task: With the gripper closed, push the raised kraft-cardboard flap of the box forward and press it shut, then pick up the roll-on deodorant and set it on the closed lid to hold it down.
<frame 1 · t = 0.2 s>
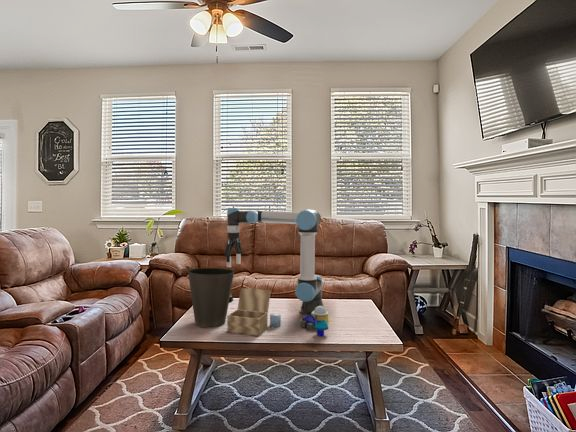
hand: (233, 265, 233), 29 cm above the table, fingers open, 13 cm apart
lid: (254, 300, 203), point 15 cm above the table, hinge at 112.0°
toy: (320, 334, 190), on the table
box: (247, 330, 195), on the table
toy 2: (314, 326, 204), on the table
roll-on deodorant: (275, 325, 204), on the table
waste basket: (211, 323, 208), on the table
decorative sign: (213, 300, 258), on the table
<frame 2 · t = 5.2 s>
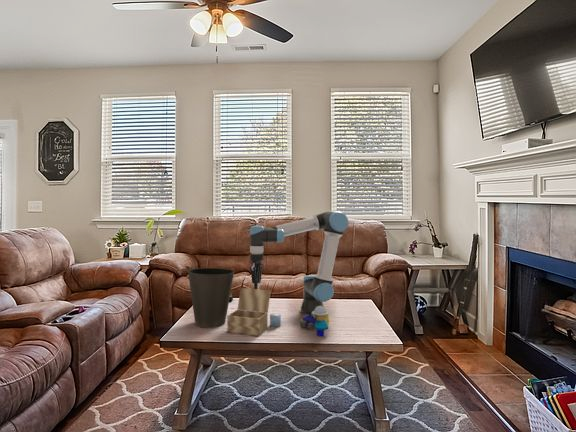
hand: (256, 294, 207), 17 cm above the table, fingers closed
lid: (254, 300, 203), point 15 cm above the table, hinge at 111.6°, touching gripper
everything else where it was.
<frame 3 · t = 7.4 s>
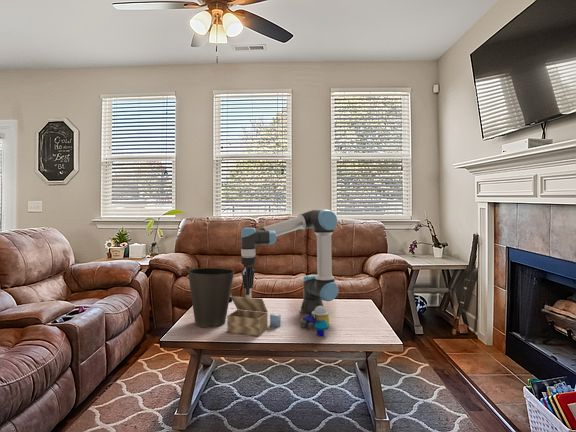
hand: (248, 300, 196), 16 cm above the table, fingers closed
lid: (249, 304, 197), point 14 cm above the table, hinge at 48.3°, touching gripper
everything else where it was.
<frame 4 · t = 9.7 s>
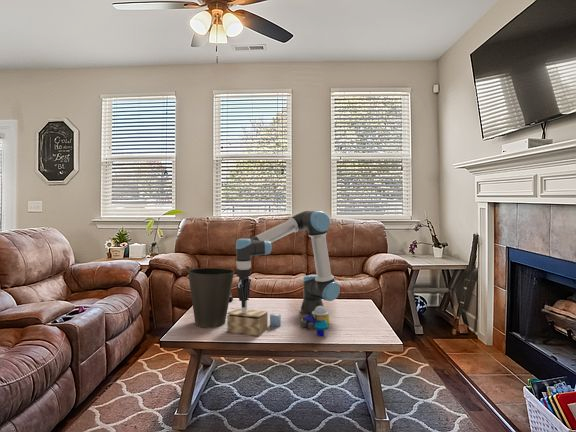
hand: (244, 312, 192), 11 cm above the table, fingers closed
lid: (247, 312, 195), point 10 cm above the table, hinge at 3.9°, touching gripper
everything else where it was.
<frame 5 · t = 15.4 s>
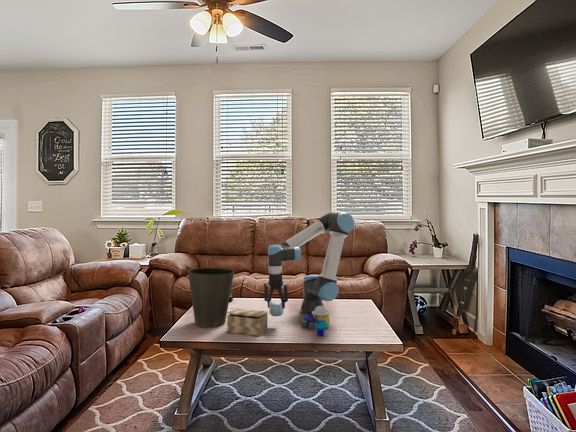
hand: (276, 313, 204), 7 cm above the table, fingers closed on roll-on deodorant, 6 cm apart
lid: (247, 312, 195), point 10 cm above the table, hinge at 5.1°
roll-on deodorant: (276, 314, 204), point 6 cm above the table, touching gripper
everything else where it was.
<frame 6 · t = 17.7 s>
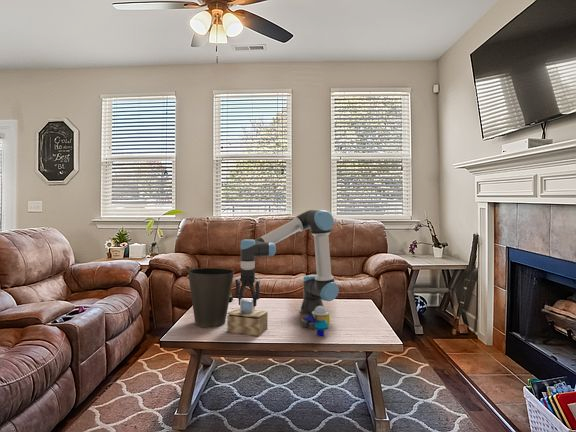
hand: (247, 311, 195), 10 cm above the table, fingers closed on lid, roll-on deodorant, 6 cm apart
lid: (247, 312, 195), point 10 cm above the table, hinge at 3.4°, touching gripper, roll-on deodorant
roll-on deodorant: (247, 312, 195), point 10 cm above the table, touching gripper, lid
when the fingers open (10 cm above the table, at t = 18.1 s): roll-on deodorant stays where it is, resting on lid.
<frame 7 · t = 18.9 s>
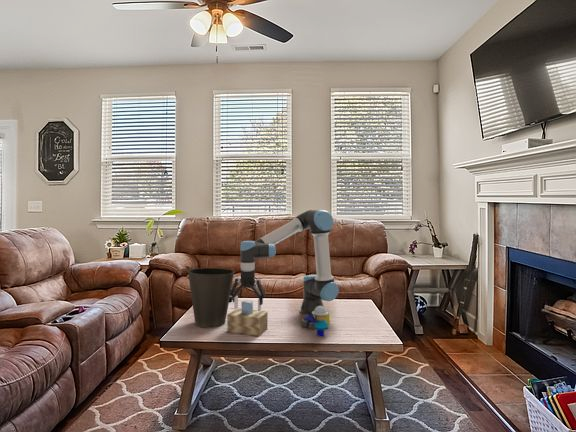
hand: (247, 309, 195), 12 cm above the table, fingers open, 13 cm apart
lid: (247, 313, 195), point 10 cm above the table, hinge at -0.2°, touching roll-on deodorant
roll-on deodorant: (247, 313, 195), point 10 cm above the table, touching lid
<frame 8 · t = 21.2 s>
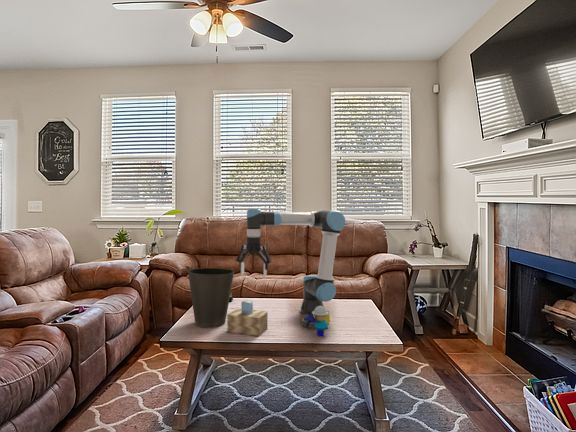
hand: (253, 274, 202), 29 cm above the table, fingers open, 13 cm apart
at the end: lid at +0° (first picture: +112°); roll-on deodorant inside the target area on the box (0.4 cm from its centre), point 9.7 cm above the box's base; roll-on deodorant tilted 0° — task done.
